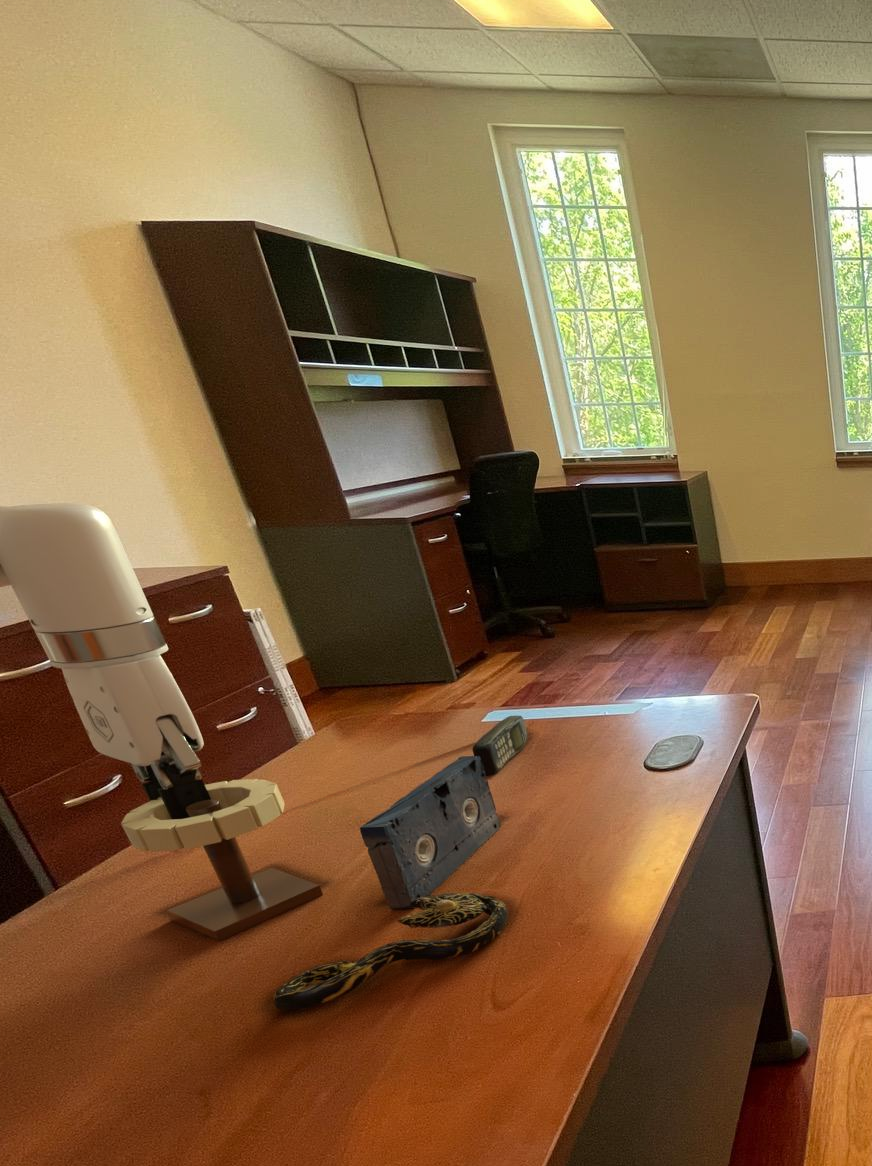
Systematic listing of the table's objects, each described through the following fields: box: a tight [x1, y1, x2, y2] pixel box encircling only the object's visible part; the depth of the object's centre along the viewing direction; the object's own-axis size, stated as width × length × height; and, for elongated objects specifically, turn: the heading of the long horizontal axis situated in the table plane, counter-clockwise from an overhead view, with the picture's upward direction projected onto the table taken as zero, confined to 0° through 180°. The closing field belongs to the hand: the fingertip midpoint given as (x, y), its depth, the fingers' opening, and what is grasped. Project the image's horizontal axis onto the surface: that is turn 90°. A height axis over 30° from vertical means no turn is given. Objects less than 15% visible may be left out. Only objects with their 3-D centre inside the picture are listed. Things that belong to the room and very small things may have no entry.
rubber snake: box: [273, 892, 509, 1012], centre depth 75 cm, size 18×5×10 cm
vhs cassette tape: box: [359, 755, 502, 910], centre depth 89 cm, size 18×3×10 cm, turn 4°
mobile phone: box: [472, 715, 528, 776], centre depth 119 cm, size 5×3×15 cm
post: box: [166, 800, 324, 942], centre depth 81 cm, size 9×9×12 cm
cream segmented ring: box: [120, 778, 286, 853], centre depth 79 cm, size 11×11×2 cm
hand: (187, 814), depth 81 cm, fingers closed on cream segmented ring, 2 cm apart
